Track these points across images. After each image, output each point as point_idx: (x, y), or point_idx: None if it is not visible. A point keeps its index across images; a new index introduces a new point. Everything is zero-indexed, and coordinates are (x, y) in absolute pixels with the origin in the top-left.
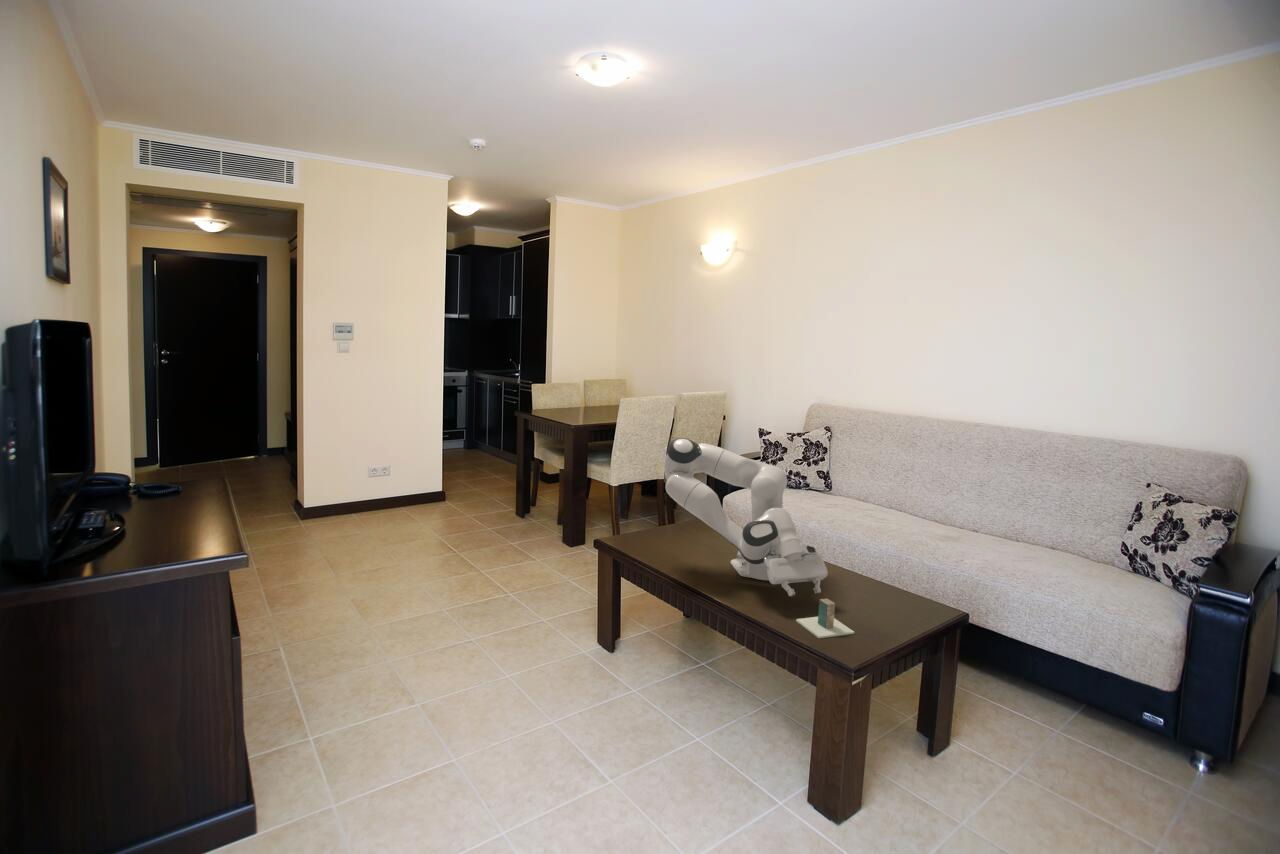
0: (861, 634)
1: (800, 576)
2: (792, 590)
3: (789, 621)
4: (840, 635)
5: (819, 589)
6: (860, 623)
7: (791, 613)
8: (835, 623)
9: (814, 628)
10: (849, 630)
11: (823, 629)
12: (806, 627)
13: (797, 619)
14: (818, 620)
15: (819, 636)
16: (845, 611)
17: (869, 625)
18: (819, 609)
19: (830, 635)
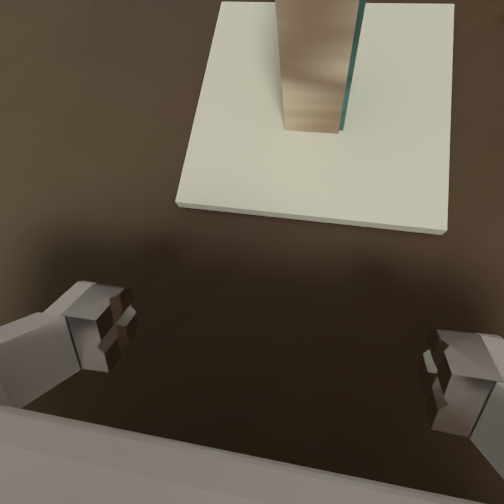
0: (190, 8)
1: (258, 483)
2: (476, 361)
3: (485, 257)
4: None
5: (84, 288)
6: (88, 98)
7: (383, 364)
8: (237, 101)
9: (413, 85)
10: (233, 17)
11: (365, 62)
12: (449, 117)
13: (440, 223)
14: (345, 113)
15: (451, 4)
16: (22, 244)
17: (69, 69)
18: (355, 50)
19: (374, 5)
